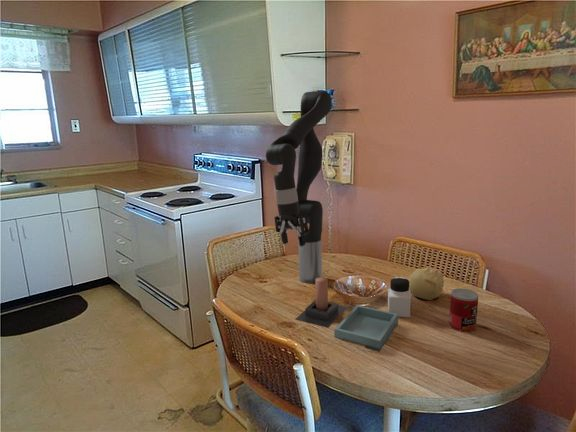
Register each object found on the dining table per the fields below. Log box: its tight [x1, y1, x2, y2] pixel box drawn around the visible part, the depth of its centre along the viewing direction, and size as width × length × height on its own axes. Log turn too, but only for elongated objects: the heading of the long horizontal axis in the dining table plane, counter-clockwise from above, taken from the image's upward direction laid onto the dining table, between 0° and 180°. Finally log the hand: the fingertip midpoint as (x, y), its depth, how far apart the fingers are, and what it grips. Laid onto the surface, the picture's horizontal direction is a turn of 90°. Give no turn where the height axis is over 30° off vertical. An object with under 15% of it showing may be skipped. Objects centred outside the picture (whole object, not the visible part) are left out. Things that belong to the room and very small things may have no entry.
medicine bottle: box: [387, 276, 412, 318], centre depth 137 cm, size 7×7×12 cm
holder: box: [294, 299, 348, 329], centre depth 138 cm, size 16×12×4 cm
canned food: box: [448, 288, 479, 332], centre depth 128 cm, size 8×8×11 cm
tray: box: [333, 304, 399, 353], centre depth 127 cm, size 18×14×4 cm
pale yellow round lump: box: [408, 266, 445, 301], centre depth 149 cm, size 12×12×11 cm
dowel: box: [315, 276, 329, 311], centre depth 137 cm, size 4×4×12 cm
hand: (293, 244), depth 149 cm, fingers open, 8 cm apart
